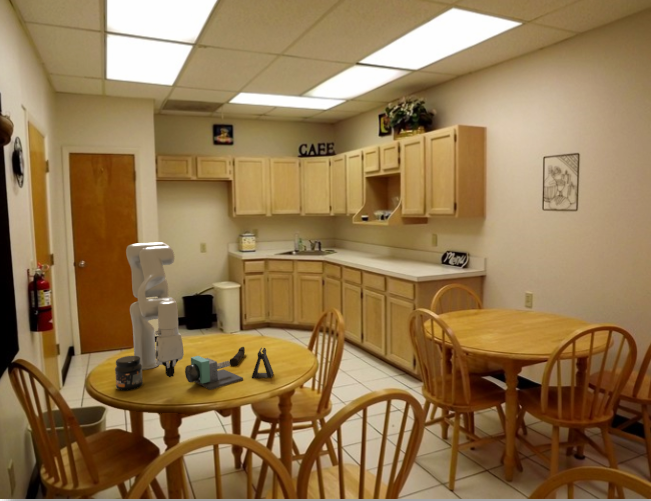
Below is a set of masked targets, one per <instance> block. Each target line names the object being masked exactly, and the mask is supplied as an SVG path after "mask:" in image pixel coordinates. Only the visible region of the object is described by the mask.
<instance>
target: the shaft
mask: <svg viewBox="0 0 651 501" xmlns="http://www.w3.org/2000/svg"><path fill="white" fill-rule="evenodd" d="M230 366H231V365H230V360H225V361H222V362H217V370H221V369H224V368H227V367H230ZM184 369H185V370H184V374H185V375H184V376H185V378H186V380H187V381H188V383H190V384H191V383H195V382H194V381H198V380H199V378H200V371H199V368H198V366H197V365H196V364H192V365H191V364H188V365H186V366H185V368H184Z"/></svg>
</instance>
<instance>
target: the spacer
mask: <svg viewBox="0 0 651 501" xmlns="http://www.w3.org/2000/svg"><path fill="white" fill-rule="evenodd" d="M192 364H196V365H197V366H198V368H199V371H200V383H202V384H203V383H206V382H210V369H209V360H207V359H205V358H204V357H203V356H200V355H196V356H191V357H190V365H192Z"/></svg>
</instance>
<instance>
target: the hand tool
mask: <svg viewBox="0 0 651 501" xmlns="http://www.w3.org/2000/svg"><path fill="white" fill-rule="evenodd" d="M245 353H246V350H245V346H241V347H240V348H239V349H238V350H237V353H236V354H234V356H233V357H232V358H230V360H229V362H230V366H231V367H236V366H238V364H239V362H240V361H241V360H242V359H243V358H244V357H245Z"/></svg>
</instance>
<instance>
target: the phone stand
mask: <svg viewBox="0 0 651 501" xmlns="http://www.w3.org/2000/svg"><path fill="white" fill-rule="evenodd" d="M261 360H262V363H263V365H264V368H265V372H259V369H260V364H261ZM273 375H274V371H273V368H272V365H271V362H270V360H269V358H268V355H267V348H265V347H263V348H262V347H261V348H260V349H259V351H258V352H257V360H256V363H255V366H254V368H253V370H252V375H251V379H272V378H273Z"/></svg>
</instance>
